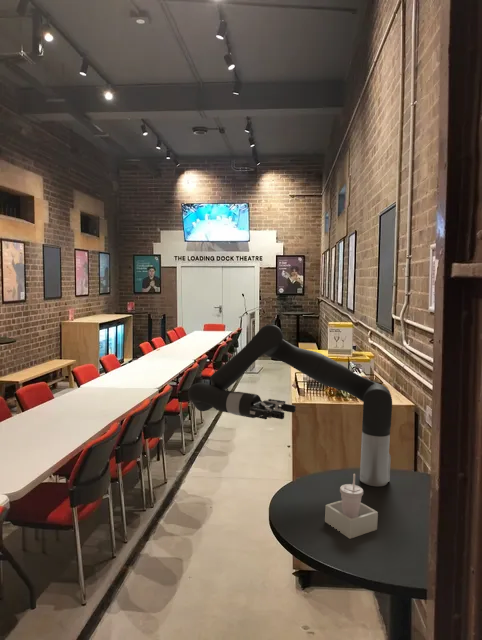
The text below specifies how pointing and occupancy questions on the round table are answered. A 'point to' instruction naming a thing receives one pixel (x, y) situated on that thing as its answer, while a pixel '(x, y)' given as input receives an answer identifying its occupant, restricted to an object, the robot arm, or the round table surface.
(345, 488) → the smoothie
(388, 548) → the round table surface
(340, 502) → the box
